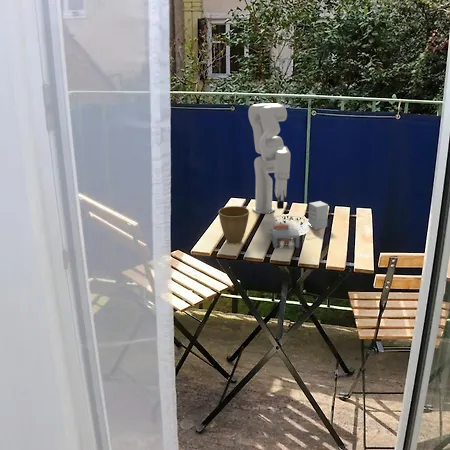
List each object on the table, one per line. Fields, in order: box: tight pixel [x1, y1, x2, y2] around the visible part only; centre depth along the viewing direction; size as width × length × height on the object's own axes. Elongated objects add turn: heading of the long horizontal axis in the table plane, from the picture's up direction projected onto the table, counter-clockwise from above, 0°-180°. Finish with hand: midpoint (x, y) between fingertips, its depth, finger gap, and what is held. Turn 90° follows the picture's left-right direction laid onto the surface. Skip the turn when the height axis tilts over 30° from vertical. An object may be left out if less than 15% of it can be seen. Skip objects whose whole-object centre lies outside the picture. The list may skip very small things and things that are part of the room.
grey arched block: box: [273, 223, 293, 246], centre depth 279 cm, size 12×7×6 cm, turn 5°
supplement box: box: [307, 200, 329, 230], centre depth 295 cm, size 7×7×13 cm
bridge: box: [269, 228, 300, 249], centre depth 278 cm, size 18×12×6 cm
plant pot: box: [218, 205, 250, 245], centre depth 276 cm, size 15×15×16 cm
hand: (280, 208), depth 291 cm, fingers closed
